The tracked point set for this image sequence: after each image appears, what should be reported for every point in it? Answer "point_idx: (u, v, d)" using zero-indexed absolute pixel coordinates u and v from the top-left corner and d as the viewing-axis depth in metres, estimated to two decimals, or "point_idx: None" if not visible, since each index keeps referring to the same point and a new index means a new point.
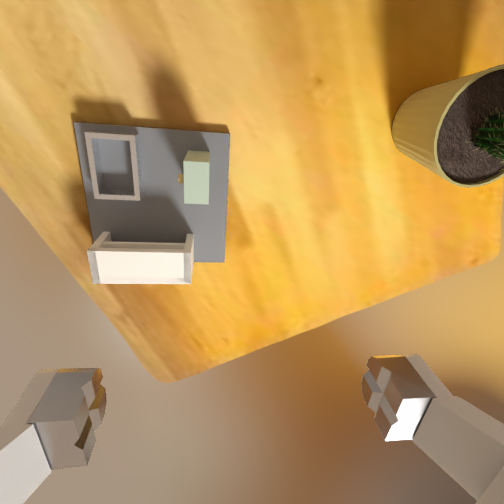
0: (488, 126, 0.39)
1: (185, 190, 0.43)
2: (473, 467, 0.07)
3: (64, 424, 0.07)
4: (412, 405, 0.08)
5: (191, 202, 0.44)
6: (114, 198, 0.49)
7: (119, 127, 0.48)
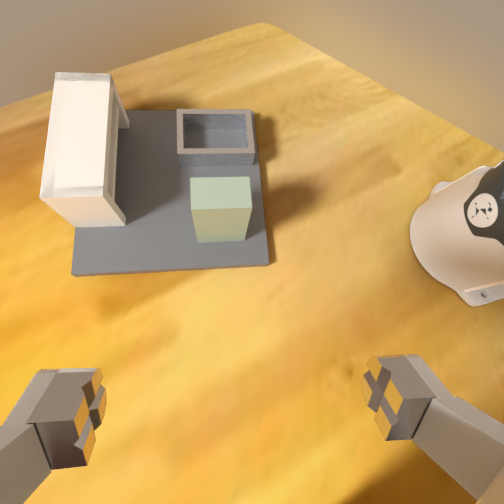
0: None
1: (209, 179, 0.31)
2: (473, 467, 0.07)
3: (64, 424, 0.07)
4: (412, 405, 0.08)
5: (192, 186, 0.30)
6: (178, 127, 0.40)
7: (255, 148, 0.44)
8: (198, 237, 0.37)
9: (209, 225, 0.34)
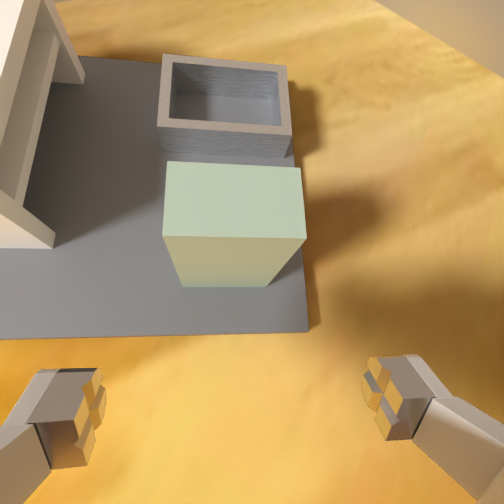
0: None
1: (211, 167, 0.13)
2: (473, 467, 0.07)
3: (64, 424, 0.07)
4: (412, 405, 0.08)
5: (170, 181, 0.13)
6: (162, 83, 0.23)
7: None
8: (183, 280, 0.20)
9: (206, 265, 0.16)
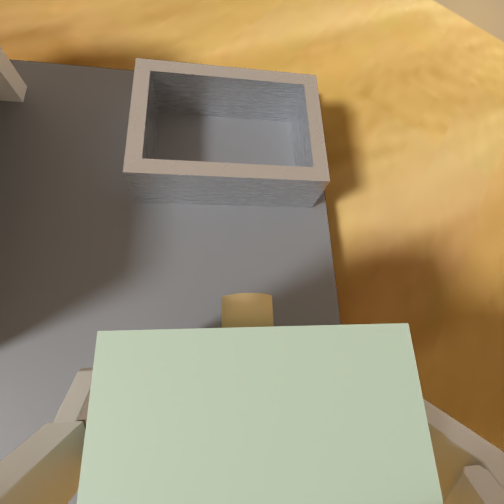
0: None
1: (207, 339, 0.06)
2: None
3: None
4: None
5: (102, 394, 0.05)
6: (134, 103, 0.15)
7: None
8: None
9: None
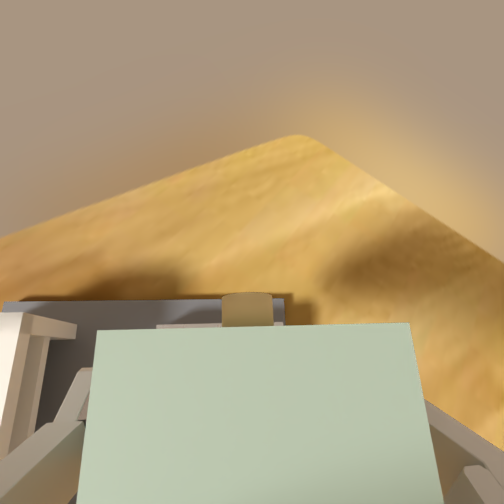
0: None
1: (207, 339, 0.06)
2: None
3: None
4: None
5: (102, 393, 0.05)
6: None
7: None
8: None
9: None
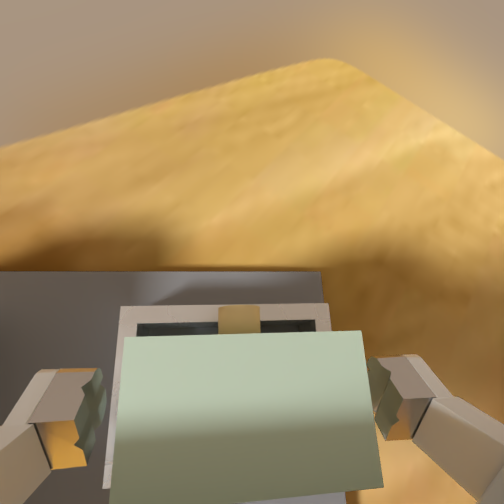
0: None
1: (206, 343, 0.07)
2: (473, 467, 0.07)
3: (64, 424, 0.07)
4: (412, 405, 0.08)
5: (129, 383, 0.07)
6: (118, 377, 0.13)
7: None
8: None
9: None
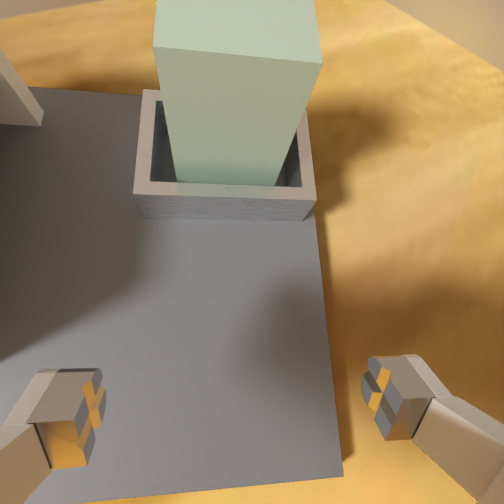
0: None
1: None
2: (473, 467, 0.07)
3: (64, 424, 0.07)
4: (412, 405, 0.08)
5: None
6: (142, 131, 0.17)
7: None
8: (179, 176, 0.18)
9: (204, 134, 0.14)
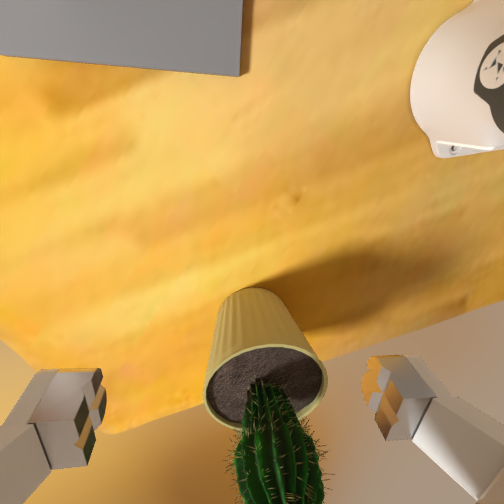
0: (273, 391, 0.35)
1: None
2: (473, 467, 0.07)
3: (64, 424, 0.07)
4: (412, 405, 0.08)
5: None
6: None
7: None
8: None
9: None
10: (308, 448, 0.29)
